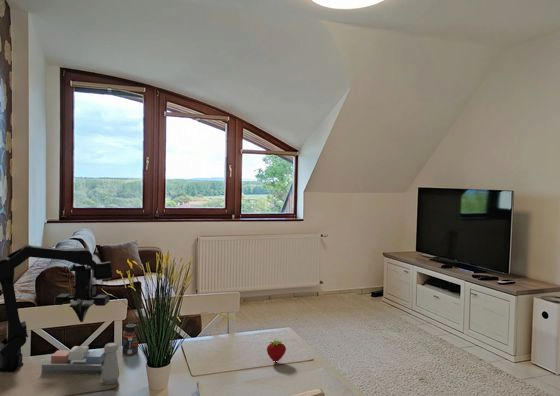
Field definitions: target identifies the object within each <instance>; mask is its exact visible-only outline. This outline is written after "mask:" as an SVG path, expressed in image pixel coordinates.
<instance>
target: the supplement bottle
mask: <svg viewBox="0 0 560 396" xmlns="http://www.w3.org/2000/svg"><path fill="white" fill-rule="evenodd" d="M135 326H136V327H137V324H135V323H128V324H126V325H125V330H123V332H122V346H121V347H122V351H121V353H122V356H125V357H134V356H136V355H137V354H138V353H139V341H137V337H136V334H135V330H134V328H135Z"/></svg>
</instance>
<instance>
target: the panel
mask: <svg viewBox="0 0 560 396" xmlns="http://www.w3.org/2000/svg"><path fill="white" fill-rule="evenodd" d="M90 351H91V350H88V354H89V353H90ZM105 356H106V352H105ZM104 361H105V359H104ZM104 361H103V362H102V363H101V364H86V357H85V358H84V360H69V361H68V362H67V363H66V364H51V361H49V362H48V363H42V364H41V375H85V374H89V375H90V374H91V375H92V376H93V374H94V375H96V376H97V374H98V376H101V374H102V370H103V365H104Z"/></svg>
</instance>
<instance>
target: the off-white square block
mask: <svg viewBox="0 0 560 396" xmlns="http://www.w3.org/2000/svg"><path fill="white" fill-rule="evenodd" d="M88 351H89V345H88V346H86V345H85V346H84V345H79V346H78V345H74V346H73V347H72V348H71V349H70V351H69V355H68V360H84V358H85V357H86V356H87V355H88Z"/></svg>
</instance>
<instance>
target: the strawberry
mask: <svg viewBox="0 0 560 396" xmlns="http://www.w3.org/2000/svg"><path fill="white" fill-rule="evenodd" d="M268 343H269V344H268V345H267V347H266V352H267V355H268V357H269V358H270V359H271V360H272V362H273V361H275V362H276V361H278V362H279V361H280V360H281V359H282V358H283V357H284V356H285V354H286V351H287V348H286V345H285V343H284V344H283V342H282V341H280V340H278V339H277V338H276V339H273V341H269V342H268Z"/></svg>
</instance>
